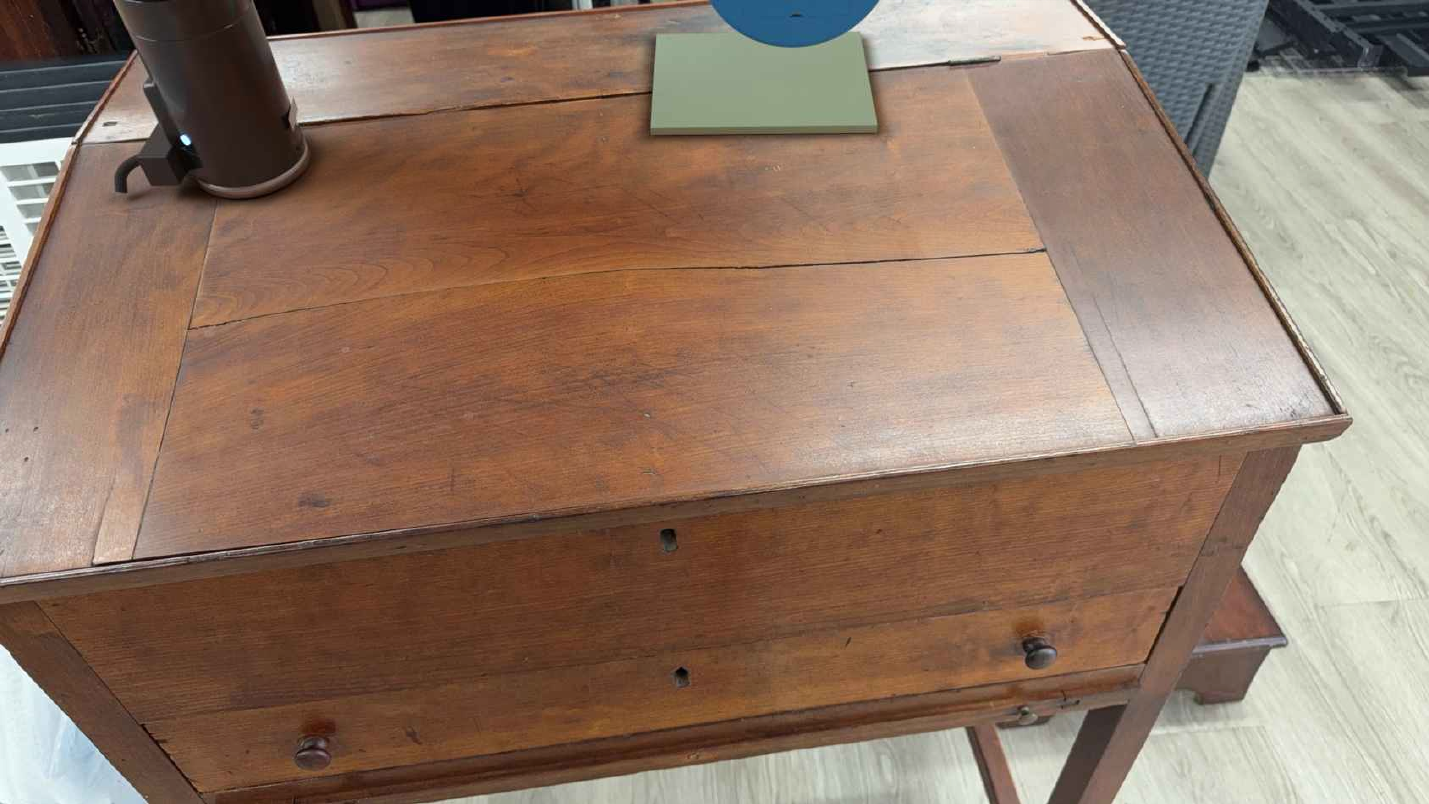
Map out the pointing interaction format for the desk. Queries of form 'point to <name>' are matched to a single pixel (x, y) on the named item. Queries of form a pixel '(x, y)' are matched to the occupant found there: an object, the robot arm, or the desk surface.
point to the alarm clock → (793, 19)
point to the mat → (759, 86)
